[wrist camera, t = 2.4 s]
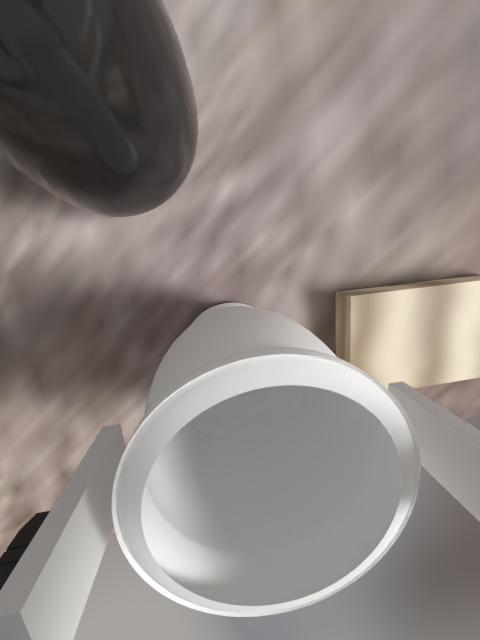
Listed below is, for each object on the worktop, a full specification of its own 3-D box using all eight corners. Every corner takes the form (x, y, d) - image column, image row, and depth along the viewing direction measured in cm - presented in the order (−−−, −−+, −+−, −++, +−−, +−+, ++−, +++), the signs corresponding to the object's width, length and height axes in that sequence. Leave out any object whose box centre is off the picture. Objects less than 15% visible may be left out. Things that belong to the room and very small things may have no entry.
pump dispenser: (32, 46, 16) (-1325, -1613, 2) (200, 71, 18) (182, -747, 3) (51, 218, 19) (-485, 89, 4) (198, 228, 20) (181, 158, 6)
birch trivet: (336, 385, 25) (349, 398, 23) (335, 291, 23) (350, 296, 21) (467, 364, 27) (493, 375, 24) (478, 274, 24) (508, 276, 22)
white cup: (145, 334, 22) (26, 490, 7) (250, 264, 21) (344, 282, 7) (216, 423, 24) (235, 665, 10) (310, 363, 24) (465, 520, 10)
